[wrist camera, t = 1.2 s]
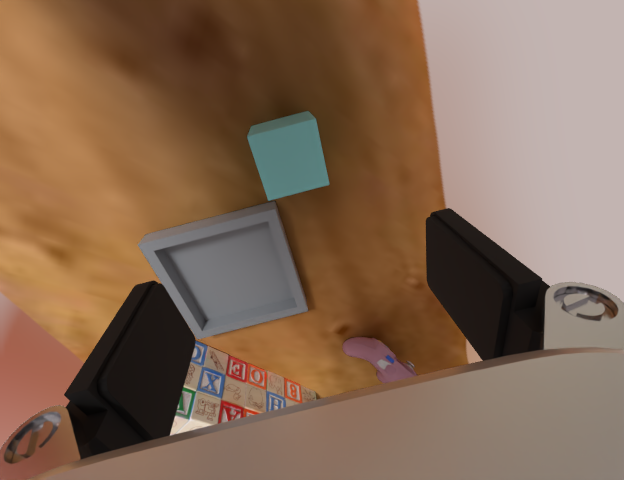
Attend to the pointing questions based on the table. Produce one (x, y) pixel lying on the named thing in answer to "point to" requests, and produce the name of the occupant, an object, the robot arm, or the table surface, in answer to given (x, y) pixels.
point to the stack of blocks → (230, 391)
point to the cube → (288, 155)
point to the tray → (228, 270)
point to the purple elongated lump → (379, 358)
